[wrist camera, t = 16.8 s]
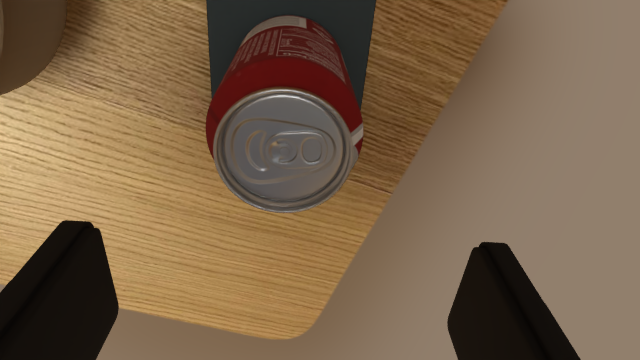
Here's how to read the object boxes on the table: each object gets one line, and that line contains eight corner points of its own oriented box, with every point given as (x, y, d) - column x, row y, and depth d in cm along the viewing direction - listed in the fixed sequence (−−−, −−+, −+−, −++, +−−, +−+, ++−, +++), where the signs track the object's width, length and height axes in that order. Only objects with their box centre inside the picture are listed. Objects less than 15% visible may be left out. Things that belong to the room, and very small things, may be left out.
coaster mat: (376, -11, 25) (377, -10, 24) (355, 140, 30) (356, 143, 29) (206, -26, 24) (204, -25, 23) (215, 132, 29) (213, 135, 29)
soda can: (230, 13, 25) (180, 73, 14) (343, 11, 25) (373, 68, 15) (243, 119, 28) (210, 228, 18) (342, 116, 28) (365, 222, 18)
